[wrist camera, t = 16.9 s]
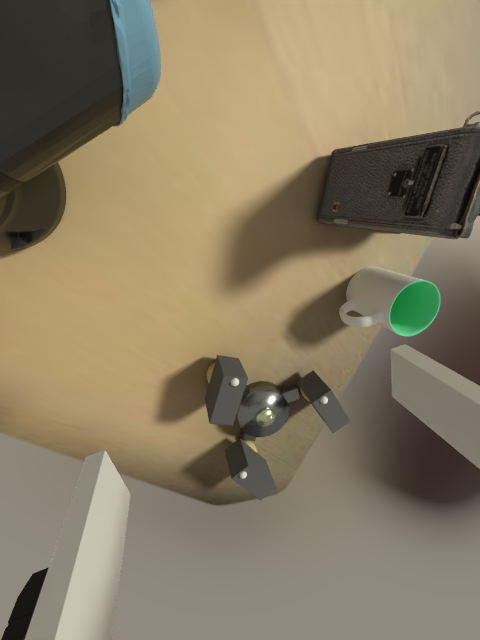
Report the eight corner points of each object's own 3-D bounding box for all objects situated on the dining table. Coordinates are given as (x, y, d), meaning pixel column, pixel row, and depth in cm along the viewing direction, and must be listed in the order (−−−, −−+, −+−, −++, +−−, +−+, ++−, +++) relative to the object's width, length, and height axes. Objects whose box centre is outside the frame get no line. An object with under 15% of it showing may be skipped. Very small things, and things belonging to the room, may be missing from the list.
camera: (378, 238, 50) (523, 258, 34) (305, 220, 42) (453, 235, 26) (400, 170, 47) (572, 156, 31) (326, 135, 39) (509, 91, 22)
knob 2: (309, 405, 55) (332, 437, 47) (290, 377, 52) (311, 407, 44) (328, 392, 55) (354, 422, 47) (310, 363, 52) (335, 390, 44)
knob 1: (246, 464, 57) (259, 505, 49) (221, 443, 53) (230, 483, 46) (264, 450, 56) (279, 489, 49) (239, 428, 53) (251, 466, 45)
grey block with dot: (200, 391, 49) (207, 426, 41) (212, 349, 46) (221, 377, 39) (225, 394, 50) (236, 428, 42) (238, 353, 48) (252, 381, 40)
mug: (332, 330, 50) (370, 358, 41) (319, 290, 47) (358, 310, 38) (392, 300, 51) (443, 320, 42) (383, 258, 48) (437, 270, 38)
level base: (211, 433, 52) (215, 453, 48) (229, 375, 49) (235, 391, 44) (280, 438, 56) (289, 457, 52) (300, 385, 53) (312, 401, 49)
